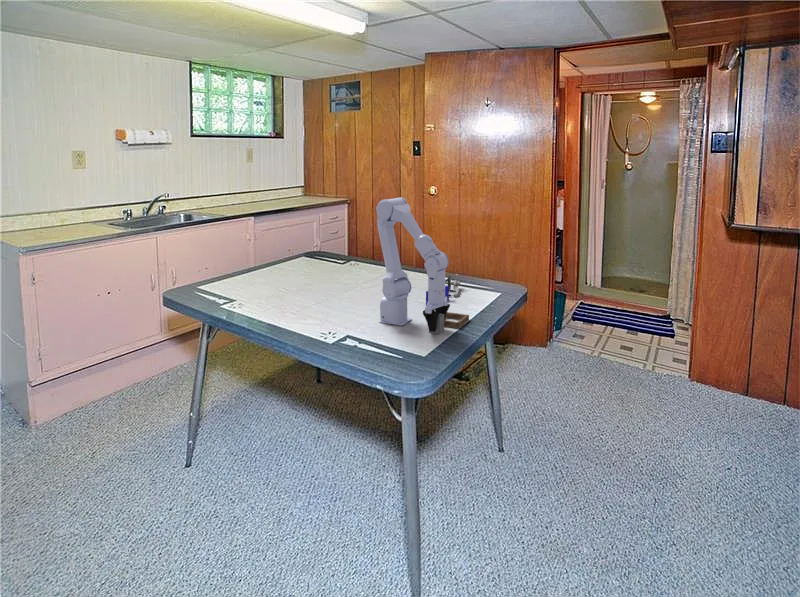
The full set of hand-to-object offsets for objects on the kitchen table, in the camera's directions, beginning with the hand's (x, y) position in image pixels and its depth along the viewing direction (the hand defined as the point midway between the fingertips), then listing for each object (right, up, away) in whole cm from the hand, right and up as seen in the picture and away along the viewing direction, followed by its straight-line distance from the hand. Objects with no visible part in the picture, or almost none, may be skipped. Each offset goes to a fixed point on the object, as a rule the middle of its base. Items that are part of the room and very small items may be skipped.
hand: (436, 327), depth 183 cm
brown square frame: (+6, +1, +9) cm, 11 cm away
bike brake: (+6, +11, +45) cm, 47 cm away
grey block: (0, -1, 0) cm, 2 cm away
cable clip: (+3, +8, +32) cm, 34 cm away
